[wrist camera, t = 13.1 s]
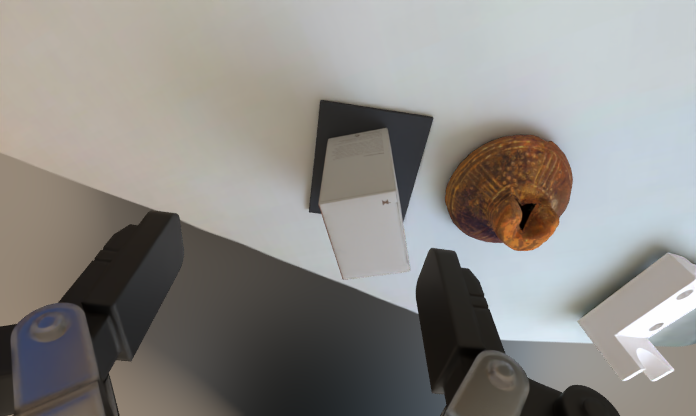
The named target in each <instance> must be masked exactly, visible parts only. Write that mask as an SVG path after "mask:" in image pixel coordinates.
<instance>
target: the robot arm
mask: <svg viewBox="0 0 696 416" xmlns="http://www.w3.org/2000/svg"><path fill="white" fill-rule="evenodd" d="M183 257H184V247H183V240H182V232H181V225H180V218H179V215H178V214H176V213H169V212H161V211H154V210H151V211H149V212H148V213H147V215H146V216H145V217H144V218H143V220H142V221H141V222H140V224H139V225H131V224H130V225H128V226H127V227H125V228H123V229H122V230H120V231H119V232H117V233H115V234H114V235H113V236H112V237H111V239H110V240H109V241H108V242H107V243H106V245H105V246H104V248H103V250H101V251H100V252H99V253H98V254H97V256H96V257H95V260H94V261H92V262H91V263H90V264H89V266H88V267H87V268H86V269H85V271H84V272H83V273H82V274H81V275H80V277H79V278H78V279H77V280H76V282H75V283H74V284H73V285H72V286H71V288H70V289H69V290H68V291H67V292H66V294H65V295H64V296H63V297H62V299H61V300H60V301H59V302H58V303H55V304H50V305H46V306H44V307H41V308H39V309H37V310H35V311H33V312H31V313H29V314H28V315H27V316H25V317H24V318H23V319H22V320H21V321H20V322H18V324H14V325H8V326H1V327H0V416H8V415H12V414H14V415H13V416H119V411H118V408H117V403H116V399H115V395H114V391H113V387H112V383H111V379H110V376H109V371H110V370H111V368H112V366H113V364H114V362H115V361H116V360H121V361H132V359H133V357H134V355H135V353H136V351H137V350H138V348H139V345H140V344H141V342H142V340H143V338H144V336H145V334H146V332H147V331H148V329H149V327H150V325H151V323H152V321H153V319H154V317H155V315H156V314H157V312H158V310H159V308H160V306H161V304H162V302H163V300H164V299H165V297H166V295H167V293H168V291H169V289H170V287H171V285H172V284H173V281H174V280H175V278H176V276H177V274H178V272H179V270H180V268H181V266H182V262H183ZM416 301H417V307H418V313H419V319H420V325H421V331H422V337H423V343H424V349H425V354H426V361H427V367H428V372H429V378H430V385H431V390H432V393H435V394H445V399H446V404H447V405H446V406H445V408H444V410H443V412H442V413H441V415H440V416H620V415H619V413H618V412H617V410H616V409H615V408H614V406H613V405H612V404H611V403H610V402H609V401H608V400H607V399H606V398H605V397H603V396H602V395H601V394H600V393H598V392H597V391H595V390H593V389H591V388H589V387H586V386H582V385H572V386H570V387H568V388H567V389H566V390H565V391H564V392H563V393H562V392H560V391H557V390H555V389H552V388H550V387H547V386H545V385H543V384H540V383H538V382H535V381H533V380H531V379H529V378H528V377H527V375H526V373H525V371H524V370H523V368H522V367H521V366H520V365H519V364H518V363H517V362H516V361H515V360H514V359H513V358H511V357H510V356H508V355H506V354H505V351H504V349H503V346H502V343H501V340H500V337H499V335H498V332H497V329H496V326H495V324H494V321H493V318H492V315H491V312H490V310H489V309H488V304H487V301H486V299H485V298H484V293H483V290H482V287H481V285H480V282H479V280H478V279H477V278H476V277H475V276H474V274H473V273H472V272H471V271H470V269H467V268H461V267H460V263H459V260H458V257H457V254H456V252H455V251H451V250H444V249H436V248H431V249H430V250H429V252H428V254H427V257H426V260H425V262H424V265H423V267H422V270H421V273H420V275H419V278H418V281H417V285H416Z"/></svg>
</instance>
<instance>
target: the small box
mask: <svg viewBox="0 0 696 416" xmlns="http://www.w3.org/2000/svg"><path fill="white" fill-rule="evenodd" d="M318 205H319V207H320V211H321V214H322V217H323V220H324V223H325V226H326V229H327V232H328V235H329V238H330V241H331V244H332V248H333V251H334V254H335V257H336V260H337V263H338V266H339V269H340V272H341V275H342V279H343V280H346V279H355V278H363V277H371V276H379V275H387V274H395V273H402V272H409V271H410V264H409V257H408V251H407V245H406V238H405V232H404V226H403V219H402V213H401V206H400V200H399V194H398V188H397V182H396V177H395V170H394V164H393V158H392V151H391V146H390V140H389V134H388V129H387V128H383V129H377V130H372V131H367V132H362V133H356V134H351V135H345V136H340V137H335V138H329V139H328V143H327V149H326V156H325V163H324V170H323V176H322V183H321V190H320V197H319V203H318Z"/></svg>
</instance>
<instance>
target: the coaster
mask: <svg viewBox="0 0 696 416" xmlns="http://www.w3.org/2000/svg"><path fill="white" fill-rule="evenodd" d="M432 121H433V117H429V116H422V115H416V114H409V113H403V112H396V111H389V110H383V109H376V108H370V107H363V106H357V105H350V104H344V103H337V102H330V101H324V100H321V101H320V110H319V120H318V130H317V139H316V149H315V159H314V168H313V178H312V188H311V197H310V207H309V212H312V213H319V214H321V211H320V207H319V205H318V203H319V197H320V190H321V183H322V176H323V170H324V163H325V156H326V149H327V143H328V139H329V138H335V137H340V136H345V135H351V134H356V133H362V132H367V131H372V130H377V129H383V128H387V129H388V134H389V140H390V146H391V151H392V158H393V164H394V170H395V177H396V182H397V188H398V194H399V200H400V206H401V213H402V219H403V221H404V217H405V214H406V211H407V207H408V204H409V200H410V197H411V193H412V190H413V187H414V183H415V180H416V176H417V173H418V169H419V166H420V162H421V159H422V156H423V152H424V149H425V145H426V142H427V138H428V135H429V132H430V128H431V125H432Z"/></svg>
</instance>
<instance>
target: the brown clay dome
mask: <svg viewBox="0 0 696 416" xmlns="http://www.w3.org/2000/svg"><path fill="white" fill-rule="evenodd" d="M572 182H573V178H572V172H571V167H570V165H569V162H568V160H567V158H566V156H565V154H564V153H563V152H562V151H561V150H560V148H559V147H558V146H557V145H556V144H555V143H553V142H552V141H549V142H547V141H545V140H543V139H541V138H539V137H537V136H534V135H513V136H506V137H501V138H498V139H496V140H493V141H490V142H488V143H486V144H484V145H482V146H481V147H479V148H478V149H476V150H474V151H473V152H472V153H471V154H470V155H468V156H467V158H466V159H465V160H463V161H462V162H461V163H460V165H459V166H458V167H457V169H456V170H455V172H454V173H453V175H452V176H451V178H450V181H449V183H448V185H447V188H446V196H445V202H446V205H447V209H448V212H449V214H450V217H451V219H452V221H453V223H454V224H455V225H456V226H457V227H458V228H459V229H460V230H461V231H462V232H463V233H465V234H466V235H468V236H470V237H473V238H475V239H478V240H482V241H485V242H493V243H504V244H506V245H507V246H508V247H510V248H512V249H513V250H517V251H528V250H533V249H535V248H537V247H539V246H540V245H542V243H544V242H546V241H547V240H548V238H549V237H550V236H551V235H552V234H553V233H554V231H555V230H556V228H557V226H558V225H559V217H560V216H561V215H562V213H563V212H564V211H565V209H566V207H567V205H568V203H569V199H570V194H571V189H572ZM521 228H522V229H521Z"/></svg>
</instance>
